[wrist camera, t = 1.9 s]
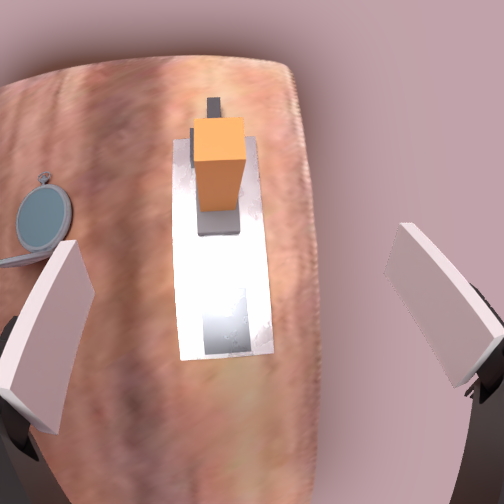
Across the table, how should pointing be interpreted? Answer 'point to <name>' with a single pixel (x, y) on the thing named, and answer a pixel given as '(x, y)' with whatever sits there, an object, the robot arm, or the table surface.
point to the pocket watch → (41, 223)
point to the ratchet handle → (218, 171)
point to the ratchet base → (220, 269)
